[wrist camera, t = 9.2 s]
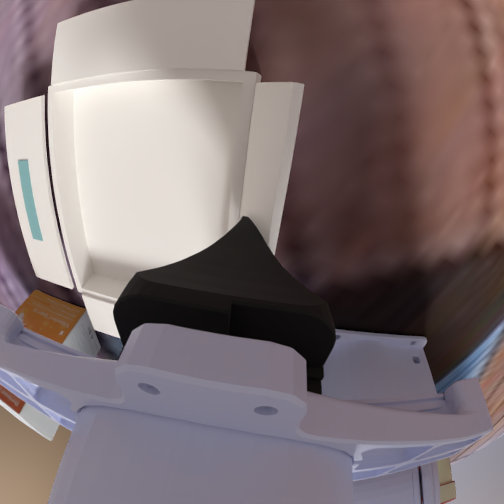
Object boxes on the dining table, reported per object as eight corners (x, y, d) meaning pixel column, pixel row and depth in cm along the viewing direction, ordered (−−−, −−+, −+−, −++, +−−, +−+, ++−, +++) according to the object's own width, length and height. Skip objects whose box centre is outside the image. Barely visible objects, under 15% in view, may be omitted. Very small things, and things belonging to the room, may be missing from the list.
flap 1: (3, 106, 10) (7, 105, 11) (35, 277, 18) (38, 274, 18) (40, 95, 10) (44, 95, 10) (71, 290, 18) (74, 286, 18)
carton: (271, 7, 10) (267, -9, 7) (229, 340, 22) (224, 364, 20) (77, 28, 10) (52, 25, 8) (102, 309, 22) (89, 328, 20)
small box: (87, 307, 23) (19, 415, 12) (102, 347, 26) (53, 443, 15) (34, 286, 23) (-32, 371, 12) (51, 326, 26) (0, 405, 15)
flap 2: (255, 82, 10) (263, 83, 10) (228, 327, 17) (232, 327, 17) (294, 82, 6) (304, 84, 6) (240, 388, 14) (246, 387, 14)
